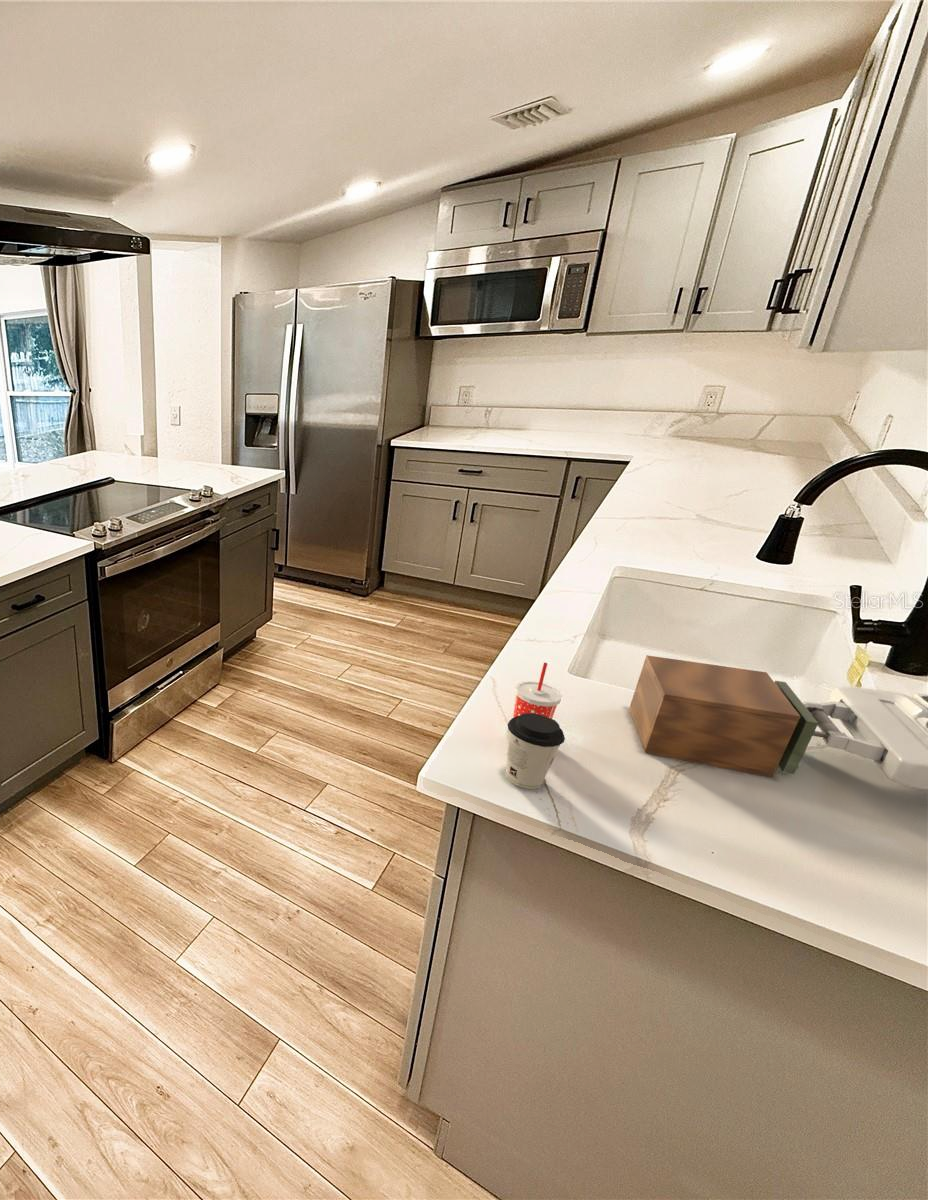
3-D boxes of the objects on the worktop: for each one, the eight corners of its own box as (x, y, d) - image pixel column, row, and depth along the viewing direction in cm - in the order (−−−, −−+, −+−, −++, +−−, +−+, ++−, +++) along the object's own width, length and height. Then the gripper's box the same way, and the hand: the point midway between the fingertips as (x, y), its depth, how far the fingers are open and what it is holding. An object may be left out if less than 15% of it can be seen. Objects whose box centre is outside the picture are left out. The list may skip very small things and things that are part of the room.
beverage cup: (526, 723, 102) (544, 650, 97) (558, 745, 97) (580, 669, 91) (496, 731, 101) (512, 657, 95) (527, 753, 95) (547, 677, 90)
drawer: (803, 736, 94) (826, 687, 90) (837, 782, 85) (864, 730, 81) (655, 710, 102) (671, 665, 98) (672, 750, 93) (690, 702, 89)
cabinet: (742, 729, 98) (766, 672, 93) (772, 777, 88) (800, 716, 83) (628, 709, 104) (646, 655, 100) (644, 752, 94) (664, 694, 90)
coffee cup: (503, 791, 88) (517, 734, 84) (491, 760, 95) (503, 706, 91) (558, 797, 87) (575, 740, 83) (542, 766, 93) (557, 711, 89)
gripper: (996, 816, 75) (838, 785, 81) (904, 724, 91) (779, 704, 97) (1024, 775, 72) (858, 746, 78) (924, 688, 88) (794, 670, 95)
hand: (813, 722), depth 88 cm, fingers closed on drawer, 6 cm apart
